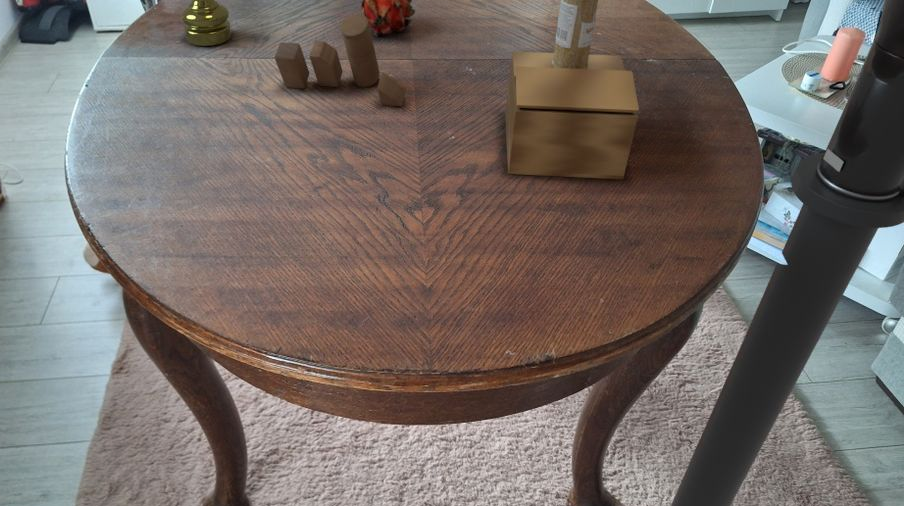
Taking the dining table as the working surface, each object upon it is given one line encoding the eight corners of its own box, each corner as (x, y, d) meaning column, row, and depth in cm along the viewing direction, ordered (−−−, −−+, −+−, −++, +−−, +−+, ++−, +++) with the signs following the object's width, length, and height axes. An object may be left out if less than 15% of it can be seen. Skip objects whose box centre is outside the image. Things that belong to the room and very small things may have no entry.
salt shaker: (180, 34, 122) (167, -28, 116) (222, 26, 125) (213, -35, 119) (194, 50, 117) (182, -14, 111) (238, 41, 120) (229, -22, 114)
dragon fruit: (400, 24, 130) (384, 62, 123) (361, -6, 127) (342, 30, 120) (428, -10, 124) (413, 27, 117) (387, -43, 122) (370, -7, 114)
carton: (607, 120, 101) (620, 55, 95) (623, 179, 90) (639, 110, 84) (505, 115, 102) (512, 51, 96) (508, 174, 91) (516, 105, 85)
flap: (631, 73, 89) (632, 70, 88) (638, 113, 84) (639, 110, 84) (515, 68, 89) (515, 66, 89) (516, 107, 85) (516, 104, 85)
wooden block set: (284, 104, 109) (264, 54, 100) (300, 60, 112) (282, 7, 103) (403, 114, 105) (393, 63, 96) (415, 68, 109) (406, 15, 100)
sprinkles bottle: (591, 74, 91) (612, -39, 82) (555, 75, 90) (572, -38, 82) (582, 59, 94) (601, -52, 85) (546, 60, 94) (562, -51, 85)
